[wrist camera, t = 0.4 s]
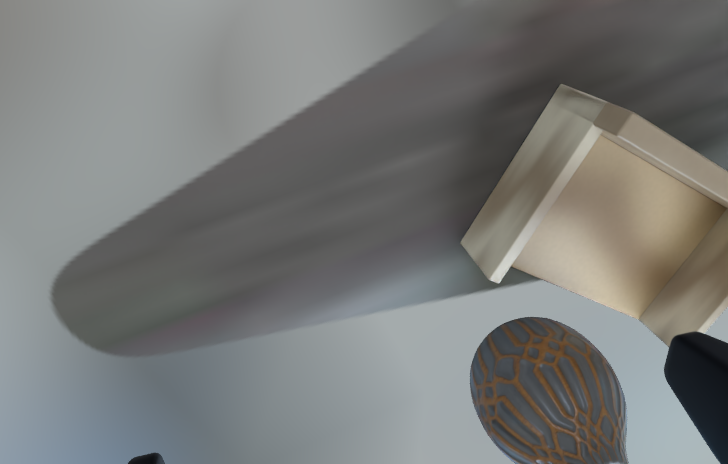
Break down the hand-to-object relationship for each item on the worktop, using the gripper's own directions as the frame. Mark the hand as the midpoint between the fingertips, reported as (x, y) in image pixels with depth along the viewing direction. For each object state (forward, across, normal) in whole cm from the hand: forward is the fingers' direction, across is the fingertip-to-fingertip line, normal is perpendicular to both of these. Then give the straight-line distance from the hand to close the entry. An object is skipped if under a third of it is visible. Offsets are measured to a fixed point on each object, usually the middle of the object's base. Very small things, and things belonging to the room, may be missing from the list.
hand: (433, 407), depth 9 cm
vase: (+15, -9, +14) cm, 23 cm away
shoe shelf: (+15, -14, +7) cm, 22 cm away
